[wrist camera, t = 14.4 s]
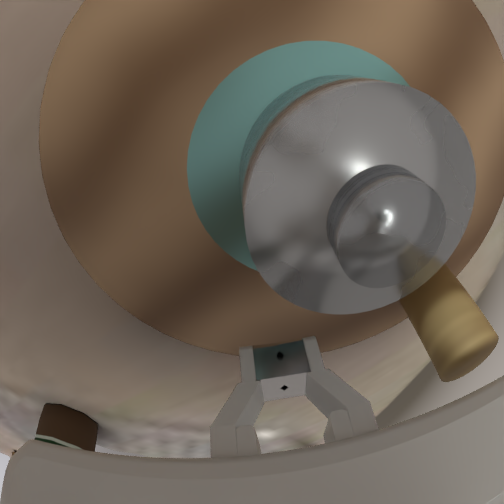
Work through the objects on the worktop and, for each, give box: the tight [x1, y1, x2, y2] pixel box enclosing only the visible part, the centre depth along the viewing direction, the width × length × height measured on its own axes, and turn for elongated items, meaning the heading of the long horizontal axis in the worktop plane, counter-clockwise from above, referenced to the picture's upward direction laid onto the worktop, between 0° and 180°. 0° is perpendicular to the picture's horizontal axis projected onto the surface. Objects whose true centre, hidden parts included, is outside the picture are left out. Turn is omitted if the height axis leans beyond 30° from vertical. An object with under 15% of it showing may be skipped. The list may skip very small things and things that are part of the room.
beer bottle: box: [35, 404, 98, 452], centre depth 18 cm, size 8×8×24 cm
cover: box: [239, 75, 476, 314], centre depth 8 cm, size 7×7×4 cm
